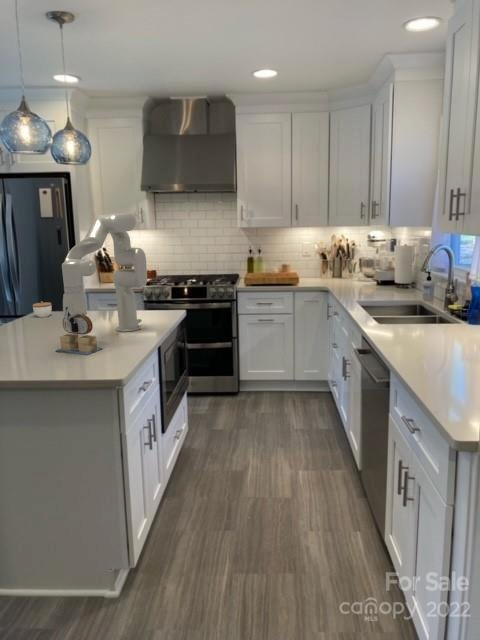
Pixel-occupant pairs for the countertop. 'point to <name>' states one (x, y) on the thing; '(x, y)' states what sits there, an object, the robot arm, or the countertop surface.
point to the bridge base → (78, 344)
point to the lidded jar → (42, 309)
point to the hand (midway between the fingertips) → (77, 330)
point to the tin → (79, 325)
